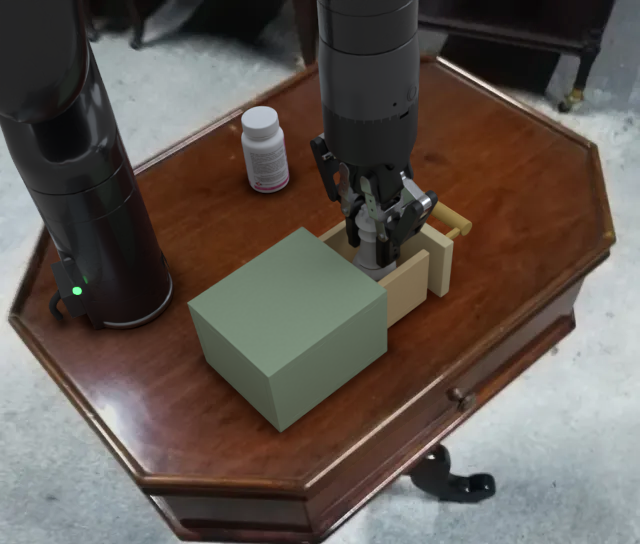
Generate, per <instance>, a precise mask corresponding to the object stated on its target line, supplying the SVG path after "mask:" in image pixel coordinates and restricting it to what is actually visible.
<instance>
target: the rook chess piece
mask: <svg viewBox="0 0 640 544" xmlns="http://www.w3.org/2000/svg"><path fill="white" fill-rule="evenodd" d="M390 221H391V216H390V217H389V218H388V220H387V223H388V222H390ZM355 223H356V224H357V226H358V227H359V230H358V235H359V236H360V238H361V242H360V249H359V250H358V252H357V254H356V255H355V257H354V259H353V262H352V264H353V265H354V266H356V267H357V268H358V269H359V270H361V271H362V272H363V273H365V274H366V275H367V276H369V277H370V278H371V279H373V280H374V281H375V282H379V281H380V280H381V279H383V278H384V277H385V276H387V275H388V274H390V273H391V272H392V271H394V270H395V269H396V268H397V266H396V261H394V262H393V263H392V264H390V265H389V266H386V267H385V268H381V267H380V266H378V265H377V264H376V237H377V233H376V227H375V222H374V220H373V219H371V218H370V217H369V214H368V209H367V204H364V205H362V206H361V210H359V213H358V214H357V216H356V218H355Z"/></svg>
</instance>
